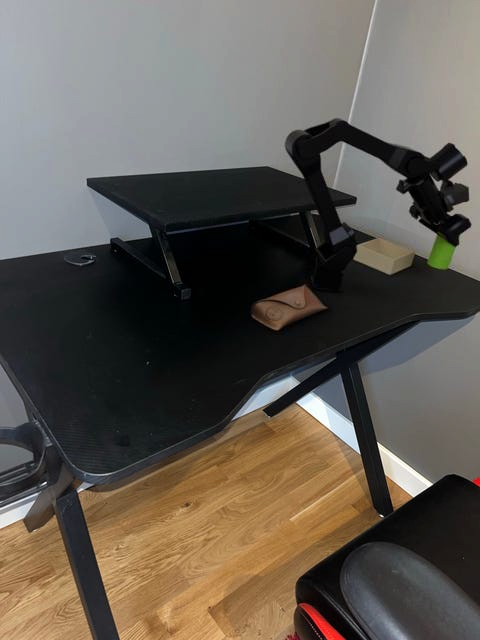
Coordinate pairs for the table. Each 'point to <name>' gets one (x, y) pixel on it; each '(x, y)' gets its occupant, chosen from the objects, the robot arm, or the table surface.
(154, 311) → the table surface
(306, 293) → the sunglasses case
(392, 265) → the tote
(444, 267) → the drink can
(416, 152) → the robot arm
